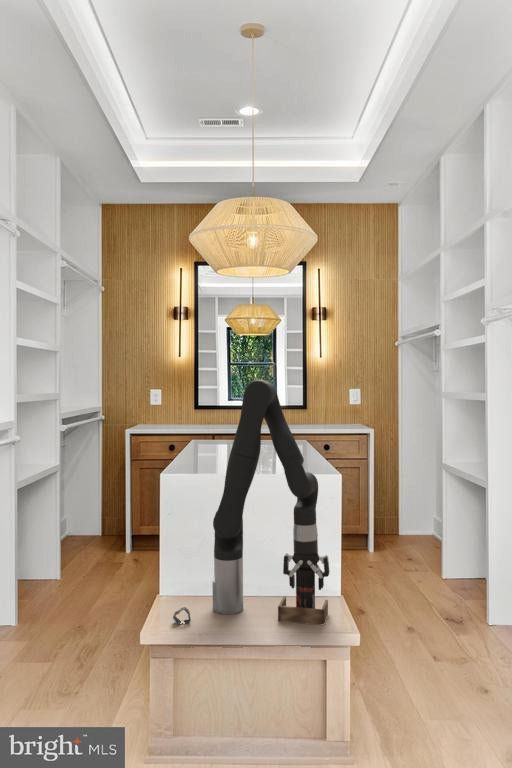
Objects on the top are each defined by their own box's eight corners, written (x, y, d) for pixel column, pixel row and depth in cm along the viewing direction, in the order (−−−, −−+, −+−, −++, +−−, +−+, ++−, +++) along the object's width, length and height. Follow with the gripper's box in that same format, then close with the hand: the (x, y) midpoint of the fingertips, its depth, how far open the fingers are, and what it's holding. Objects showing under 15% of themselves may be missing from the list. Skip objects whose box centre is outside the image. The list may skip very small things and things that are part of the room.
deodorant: (314, 620, 203) (313, 572, 203) (294, 618, 205) (294, 571, 204) (316, 612, 209) (315, 566, 209) (297, 611, 210) (297, 565, 210)
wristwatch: (182, 625, 204) (171, 615, 203) (194, 614, 204) (183, 603, 203) (182, 630, 201) (170, 620, 200) (194, 619, 201) (183, 608, 200)
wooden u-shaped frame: (278, 620, 203) (278, 606, 203) (283, 610, 212) (283, 596, 211) (324, 625, 200) (323, 610, 199) (327, 613, 208) (327, 599, 208)
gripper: (280, 539, 204) (282, 591, 205) (326, 541, 201) (327, 594, 201) (285, 533, 211) (286, 583, 212) (329, 534, 208) (330, 585, 209)
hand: (306, 588), depth 207 cm, fingers open, 8 cm apart
